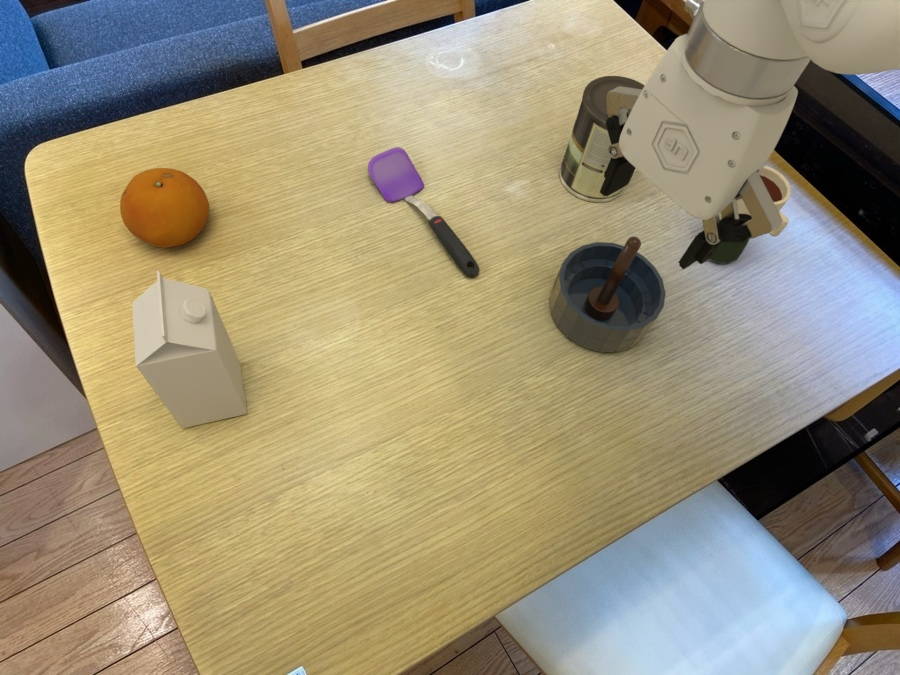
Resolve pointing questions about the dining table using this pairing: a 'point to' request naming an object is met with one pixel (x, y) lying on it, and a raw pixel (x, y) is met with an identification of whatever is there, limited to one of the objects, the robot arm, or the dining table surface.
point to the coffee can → (591, 142)
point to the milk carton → (187, 353)
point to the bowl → (635, 292)
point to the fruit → (164, 207)
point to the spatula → (416, 200)
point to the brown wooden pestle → (611, 284)
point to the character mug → (779, 195)
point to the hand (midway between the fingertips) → (651, 223)
